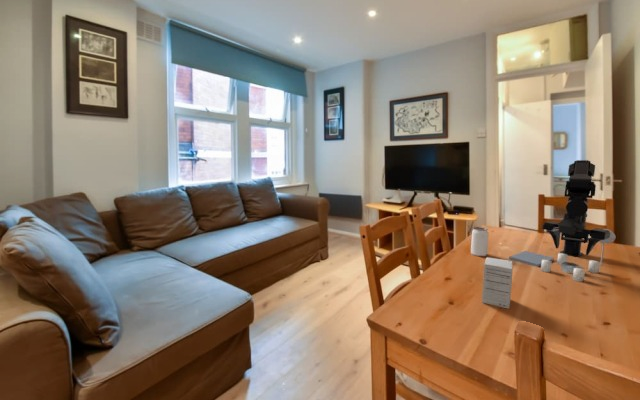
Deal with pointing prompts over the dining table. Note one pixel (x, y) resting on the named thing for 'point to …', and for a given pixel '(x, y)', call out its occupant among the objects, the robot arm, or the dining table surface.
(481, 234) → the can
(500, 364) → the dining table surface
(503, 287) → the supplement box
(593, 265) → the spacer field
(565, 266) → the grey faceted polyhedron
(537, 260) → the board
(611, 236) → the lollipop
